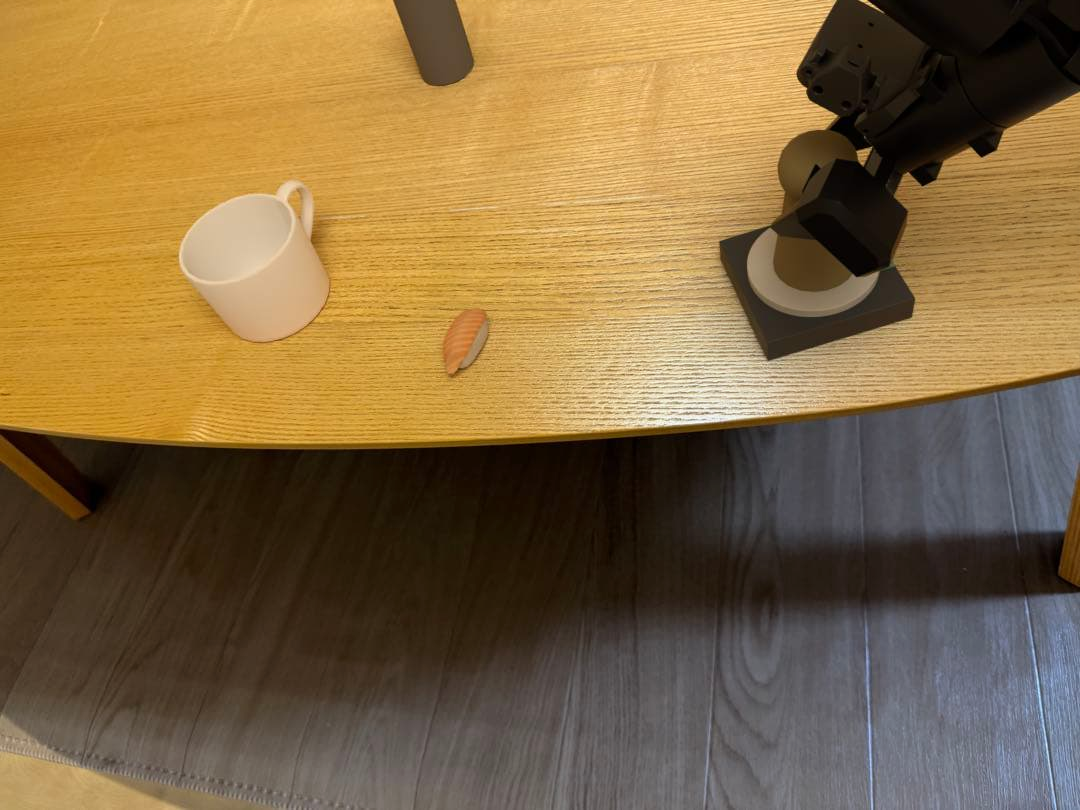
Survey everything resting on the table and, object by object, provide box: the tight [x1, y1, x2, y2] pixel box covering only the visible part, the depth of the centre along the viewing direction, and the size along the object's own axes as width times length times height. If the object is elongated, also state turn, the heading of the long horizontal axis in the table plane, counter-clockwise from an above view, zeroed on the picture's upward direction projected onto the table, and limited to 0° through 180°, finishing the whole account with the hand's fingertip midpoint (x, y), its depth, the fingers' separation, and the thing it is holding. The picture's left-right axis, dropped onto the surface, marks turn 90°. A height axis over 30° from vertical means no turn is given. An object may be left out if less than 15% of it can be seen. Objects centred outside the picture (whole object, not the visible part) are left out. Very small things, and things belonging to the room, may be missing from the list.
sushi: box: [442, 307, 489, 375], centre depth 75 cm, size 3×6×3 cm, turn 159°
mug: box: [178, 179, 331, 343], centre depth 82 cm, size 13×10×8 cm
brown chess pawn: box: [773, 129, 860, 292], centre depth 66 cm, size 6×6×11 cm
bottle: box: [392, 0, 475, 86], centre depth 93 cm, size 6×6×15 cm
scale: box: [718, 224, 916, 362], centre depth 72 cm, size 11×11×3 cm
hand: (794, 191), depth 66 cm, fingers open, 7 cm apart
